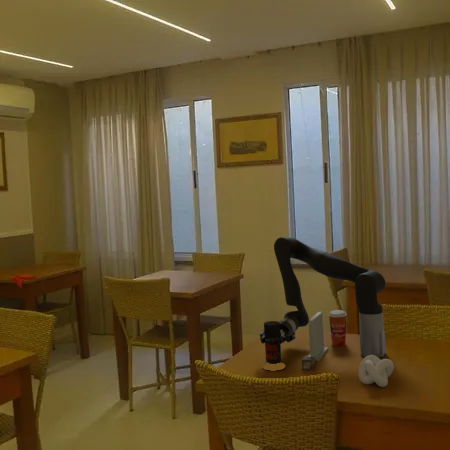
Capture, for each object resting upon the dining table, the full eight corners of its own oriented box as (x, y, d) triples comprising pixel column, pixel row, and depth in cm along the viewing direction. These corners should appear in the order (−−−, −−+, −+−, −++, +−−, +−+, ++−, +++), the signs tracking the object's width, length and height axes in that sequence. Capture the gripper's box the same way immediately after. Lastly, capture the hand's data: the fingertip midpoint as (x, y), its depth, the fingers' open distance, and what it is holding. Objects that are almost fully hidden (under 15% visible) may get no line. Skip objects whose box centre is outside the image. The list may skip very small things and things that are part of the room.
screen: (328, 349, 234) (326, 312, 233) (318, 361, 221) (316, 321, 220) (316, 349, 236) (314, 311, 235) (306, 360, 223) (304, 320, 222)
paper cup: (328, 346, 239) (327, 314, 238) (330, 341, 246) (329, 309, 245) (347, 347, 237) (346, 314, 236) (349, 341, 244) (347, 309, 243)
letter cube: (315, 367, 214) (314, 357, 214) (312, 371, 210) (311, 360, 210) (305, 366, 216) (304, 356, 216) (301, 370, 212) (301, 359, 212)
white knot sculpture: (350, 384, 194) (349, 359, 193) (369, 374, 202) (368, 350, 202) (380, 392, 186) (379, 365, 185) (398, 381, 194) (397, 356, 194)
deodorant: (263, 360, 218) (261, 322, 217) (276, 357, 221) (274, 320, 219) (270, 364, 213) (268, 326, 212) (284, 361, 215) (282, 323, 214)
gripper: (267, 319, 232) (252, 330, 217) (300, 321, 226) (287, 333, 211) (268, 337, 232) (253, 349, 217) (301, 339, 226) (288, 352, 211)
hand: (270, 341), depth 214 cm, fingers closed on deodorant, 6 cm apart
